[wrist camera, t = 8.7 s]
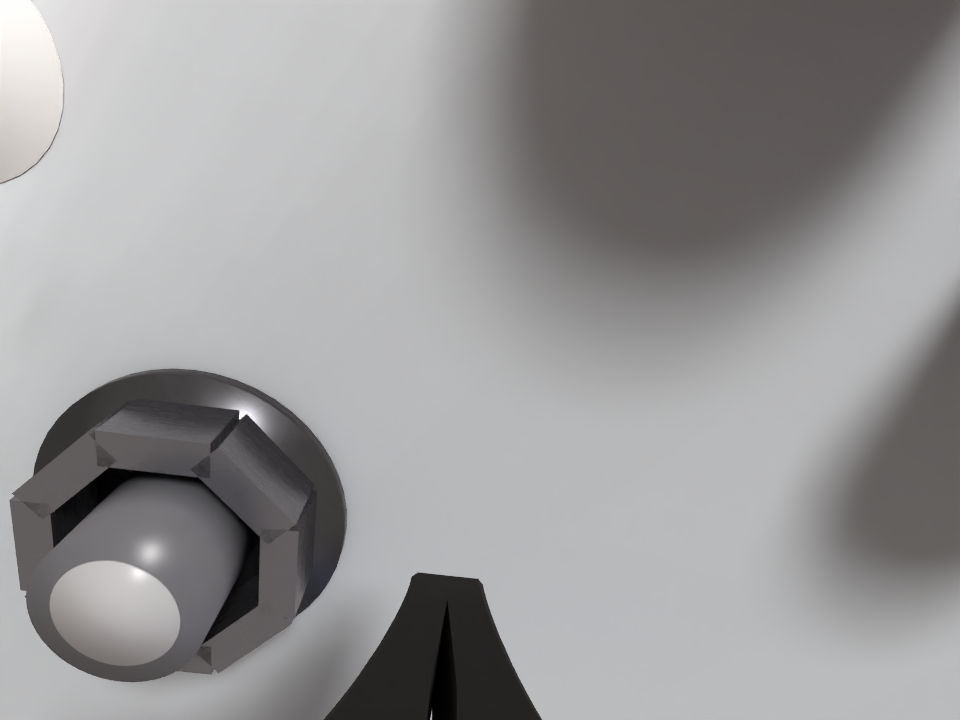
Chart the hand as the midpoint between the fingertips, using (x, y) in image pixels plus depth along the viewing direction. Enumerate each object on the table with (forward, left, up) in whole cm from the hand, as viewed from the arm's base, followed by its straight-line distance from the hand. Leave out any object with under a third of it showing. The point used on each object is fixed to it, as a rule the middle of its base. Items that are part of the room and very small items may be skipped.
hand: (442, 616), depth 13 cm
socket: (-5, +9, -10) cm, 14 cm away
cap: (-5, +9, -9) cm, 14 cm away
